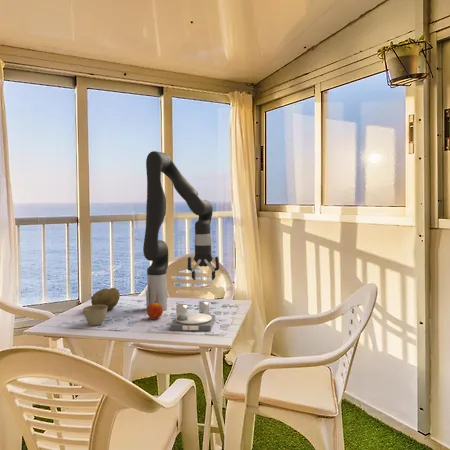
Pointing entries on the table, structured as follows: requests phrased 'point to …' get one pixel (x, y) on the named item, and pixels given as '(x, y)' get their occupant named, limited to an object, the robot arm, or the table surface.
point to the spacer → (204, 307)
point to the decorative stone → (106, 297)
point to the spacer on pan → (181, 312)
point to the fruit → (154, 310)
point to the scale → (194, 323)
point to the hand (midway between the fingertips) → (203, 279)
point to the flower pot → (95, 314)
